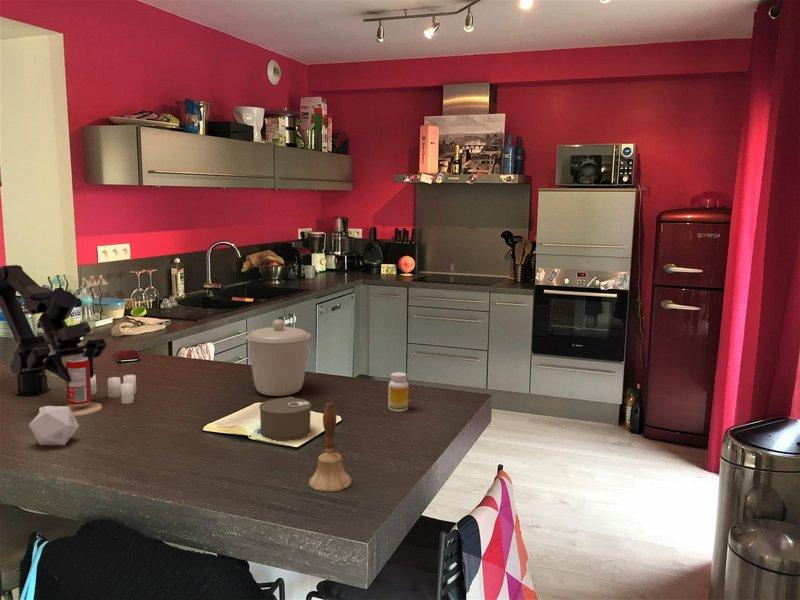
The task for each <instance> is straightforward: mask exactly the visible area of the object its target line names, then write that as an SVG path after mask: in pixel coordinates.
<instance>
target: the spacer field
mask: <svg viewBox="0 0 800 600" xmlns="http://www.w3.org/2000/svg"><path fill="white" fill-rule="evenodd" d="M96 377H97V376H96V374H94V376H93V378H90V381H91V396H92V395H96V394H97V379H96ZM136 380H137V377H136V374H126V375H123V382H122V383H121V377H120V376H118V377H117V376H112V377H108V378H107V390H108V391H107V392H108V393H107V394H108V395H107V396H108V398H112V399H115V398H120V399H121V400H120V402H121V404H124V405H125V404H126V405H127V404H133V403H135V395H136V394H137V381H136ZM44 407H45V406H41V407H39V409H38V410H39V412H38V414H39V413H40V412H41V410H42V409H43V408H44Z"/></svg>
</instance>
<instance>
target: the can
mask: <svg viewBox="0 0 800 600" xmlns="http://www.w3.org/2000/svg"><path fill="white" fill-rule="evenodd" d="M258 408H259V410H260V411H259V413H260V414H259V415H260V417H259V418H260V436H261V435H262V436H263V437H265V438H268V439H271V440H270V441H273V440H276V441H275V442H290V441H289V440H293V441H297V439H298V440H301V438H302V439H305V438H306V437H308V436H309V435H310V434H311V408H312V403H311V401H309V400H307V399H303V398H299V397H278V398H271V399H268V400H265V401H263V402H261V403H260V404H259V407H258ZM309 433H310V434H309ZM308 434H309V435H308ZM307 435H308V436H307ZM262 436H261V437H262ZM263 437H262V438H263ZM265 438H264V439H265ZM268 439H267V440H268Z"/></svg>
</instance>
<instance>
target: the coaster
mask: <svg viewBox="0 0 800 600" xmlns="http://www.w3.org/2000/svg"><path fill="white" fill-rule="evenodd" d="M65 406H69V408H70V410H71V411H72V413H73V415H74V417H80V416H88V415H92V414H95V413H98V412H100V411H101V410H102V408H103V406H102V404H101V403H98V402H93V401H90V403H89V404H87V405H83V406H71V405H69V404H66V405H65Z"/></svg>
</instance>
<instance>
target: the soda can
mask: <svg viewBox="0 0 800 600" xmlns="http://www.w3.org/2000/svg"><path fill="white" fill-rule="evenodd" d="M65 368H66V370H67V372H68V374H69V376H70V379H71V382H70V383H68V382H66V381H65V382H66V384H65V385H66V398H67V399H66V403H67V405H71V406H83V405H87V404H89V403H90V402H92V395H91V381H90V363H89V360H88V358H87V357H81V356H73V357H68V358H67V359H66V362H65Z"/></svg>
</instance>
